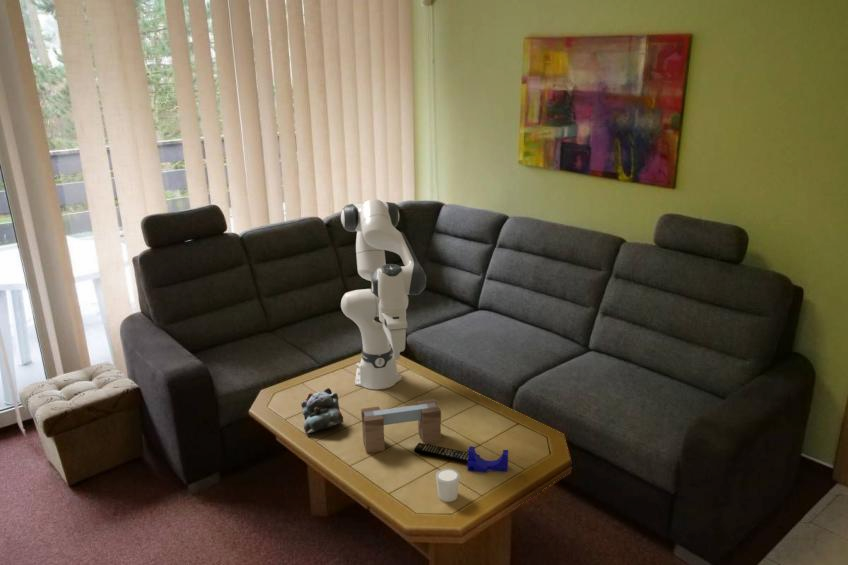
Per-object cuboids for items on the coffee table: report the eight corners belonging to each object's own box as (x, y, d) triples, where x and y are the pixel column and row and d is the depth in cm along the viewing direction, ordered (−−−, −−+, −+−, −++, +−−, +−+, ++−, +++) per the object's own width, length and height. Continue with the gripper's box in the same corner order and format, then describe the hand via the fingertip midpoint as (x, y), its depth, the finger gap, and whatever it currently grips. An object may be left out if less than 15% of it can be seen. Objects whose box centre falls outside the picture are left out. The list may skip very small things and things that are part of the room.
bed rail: (364, 423, 213) (363, 412, 212) (435, 413, 219) (435, 402, 217) (365, 427, 211) (365, 416, 209) (437, 417, 216) (437, 406, 215)
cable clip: (467, 471, 201) (467, 454, 199) (469, 462, 205) (469, 446, 203) (506, 475, 198) (506, 458, 196) (507, 466, 202) (508, 450, 200)
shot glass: (431, 493, 190) (431, 473, 188) (451, 485, 193) (450, 465, 191) (444, 506, 184) (444, 485, 182) (464, 497, 188) (464, 477, 186)
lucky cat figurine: (297, 436, 221) (290, 395, 224) (313, 432, 233) (305, 393, 235) (337, 427, 218) (329, 386, 220) (351, 423, 229) (343, 384, 232)
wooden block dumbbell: (362, 440, 218) (361, 408, 214) (435, 430, 223) (434, 398, 220) (366, 453, 210) (364, 421, 207) (441, 442, 216) (440, 410, 212)
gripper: (377, 303, 220) (379, 340, 225) (388, 327, 202) (390, 367, 207) (395, 301, 222) (396, 338, 227) (408, 325, 203) (409, 364, 208)
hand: (393, 352), depth 216 cm, fingers open, 8 cm apart
